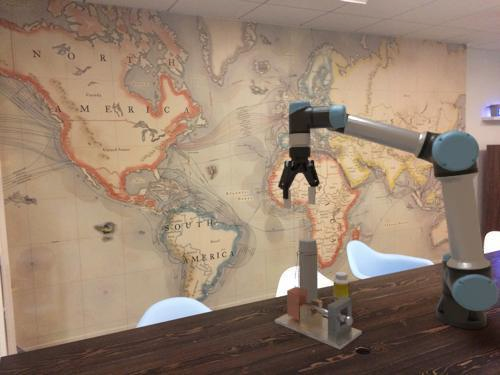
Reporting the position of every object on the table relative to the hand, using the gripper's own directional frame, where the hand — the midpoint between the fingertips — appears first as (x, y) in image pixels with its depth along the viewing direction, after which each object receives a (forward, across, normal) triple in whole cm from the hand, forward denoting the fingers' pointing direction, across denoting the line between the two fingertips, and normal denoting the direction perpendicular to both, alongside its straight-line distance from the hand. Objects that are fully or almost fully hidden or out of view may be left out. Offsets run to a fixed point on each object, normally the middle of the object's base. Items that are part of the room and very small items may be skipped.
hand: (300, 206), depth 125 cm
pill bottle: (+40, -22, +3) cm, 46 cm away
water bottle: (+40, -12, -7) cm, 43 cm away
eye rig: (+40, +4, +10) cm, 41 cm away
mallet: (+38, +4, +11) cm, 40 cm away
